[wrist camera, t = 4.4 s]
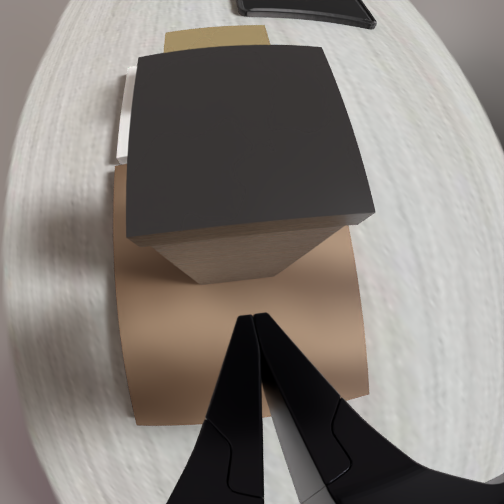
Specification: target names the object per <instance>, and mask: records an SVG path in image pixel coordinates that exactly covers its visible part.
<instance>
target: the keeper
mask: <svg viewBox="0 0 504 504" xmlns="http://www.w3.org/2000/svg"><path fill="white" fill-rule="evenodd" d="M234 45H270V42H269V38H268V35H267V32H266V28H265V25H244V26H221V27H208V28H198V29H189V30H181V31H174V32H167V33H166V34H165V44H164V53H167V52H173V51H180V50H188V49H196V48H206V47H218V46H234Z"/></svg>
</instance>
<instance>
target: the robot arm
mask: <svg viewBox="0 0 504 504" xmlns="http://www.w3.org/2000/svg"><path fill="white" fill-rule="evenodd" d="M262 387H263V391H264V394H265V397H266V401H267V404H268V407H269V410H270V413H271V417H272V420H273V423H274V426H275V429H276V432H277V435H278V439H279V442H280V445H281V448H282V451H283V454H284V457H285V460H286V463H287V466H288V469H289V472H290V475H291V478H292V481H293V484H294V487H295V490H296V493H297V496H298V499H299V502H300V504H504V473H503V474H501V475H500V476H498V477H496V478H494V479H492V480H490V481H488V482H486V483H482V482H477V481H473V480H469V479H465V478H461V477H457V476H453V475H449V474H446V473H442V472H439V471H436V470H432V469H429V468H427V467H425V466H423V465H421V464H419V463H417V462H416V461H414V460H413V459H411V458H410V457H408V456H407V455H406V454H405V453H403V452H402V451H401V450H400V449H398V448H397V447H396V446H395V445H393V444H392V443H391V442H390V441H388V440H387V439H386V438H385V437H383V436H382V435H381V434H380V433H378V432H377V431H376V430H375V429H374V428H373V427H372V426H370V425H369V424H368V423H367V422H366V421H365V420H364V419H363V418H362V417H361V416H360V415H359V414H358V413H357V412H356V411H355V410H354V409H353V408H352V407H351V406H350V405H349V404H348V403H347V402H346V401H345V399H344V398H343V397H341V395H340V394H339V393H338V392H337V391H336V390H335V389H334V387H333V386H332V385H331V384H330V383H329V382H328V381H327V380H326V378H325V377H324V376H323V375H322V374H321V373H320V372H319V371H318V370H317V368H316V367H315V366H314V365H313V364H312V363H311V362H310V360H309V359H308V358H307V357H306V356H305V355H304V354H303V353H302V351H301V350H300V349H299V348H298V347H297V346H296V345H295V343H294V342H293V341H292V340H291V339H290V338H289V336H288V335H287V334H286V333H285V332H284V331H283V330H282V328H281V327H280V326H279V325H278V324H277V323H276V321H275V320H274V319H273V318H272V317H271V316H270V314H269V313H267V312H264V313H256V314H254V315H253V316H252V315H251V314H248V315H240V316H238V317H237V320H236V323H235V326H234V329H233V332H232V335H231V339H230V342H229V345H228V348H227V351H226V354H225V357H224V360H223V363H222V366H221V370H220V373H219V376H218V379H217V382H216V385H215V388H214V391H213V394H212V397H211V400H210V403H209V406H208V410H207V413H206V416H205V418H206V419H205V420H204V421H203V424H202V427H201V430H200V433H199V436H198V439H197V441H196V444H195V447H194V449H193V451H192V454H191V456H190V458H189V460H188V462H187V465H186V467H185V469H184V471H183V473H182V474H181V476H180V478H179V480H178V482H177V484H176V486H175V488H174V490H173V492H172V494H171V496H170V497H169V499H168V501H167V503H166V504H264V467H263V421H262ZM340 397H341V398H340Z"/></svg>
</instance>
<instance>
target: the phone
mask: <svg viewBox="0 0 504 504" xmlns="http://www.w3.org/2000/svg"><path fill="white" fill-rule="evenodd" d="M237 5H238V11H239V13H240V14H241V15H243V16H246V17H272V18H292V19H304V20H314V21H323V22H330V23H337V24H344V25H350V26H355V27H360V28H365V29H374V28H375V26H376V24H377V22H376V20H375V19H374V17H373V16H372V14H371V13H370V11H369V10H368V9H367V7H366V6H365V4H364V3H363V2H362V0H237Z"/></svg>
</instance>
